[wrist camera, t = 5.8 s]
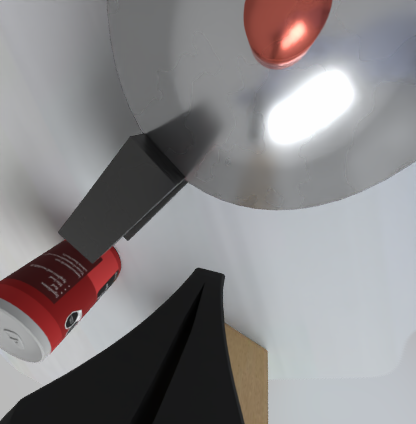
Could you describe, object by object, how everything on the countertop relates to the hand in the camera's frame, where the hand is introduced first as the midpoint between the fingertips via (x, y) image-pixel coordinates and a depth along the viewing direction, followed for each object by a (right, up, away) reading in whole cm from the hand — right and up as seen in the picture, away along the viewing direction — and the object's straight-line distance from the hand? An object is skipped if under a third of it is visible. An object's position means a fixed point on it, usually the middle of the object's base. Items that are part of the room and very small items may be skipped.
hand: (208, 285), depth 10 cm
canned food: (-15, -2, +17) cm, 23 cm away
